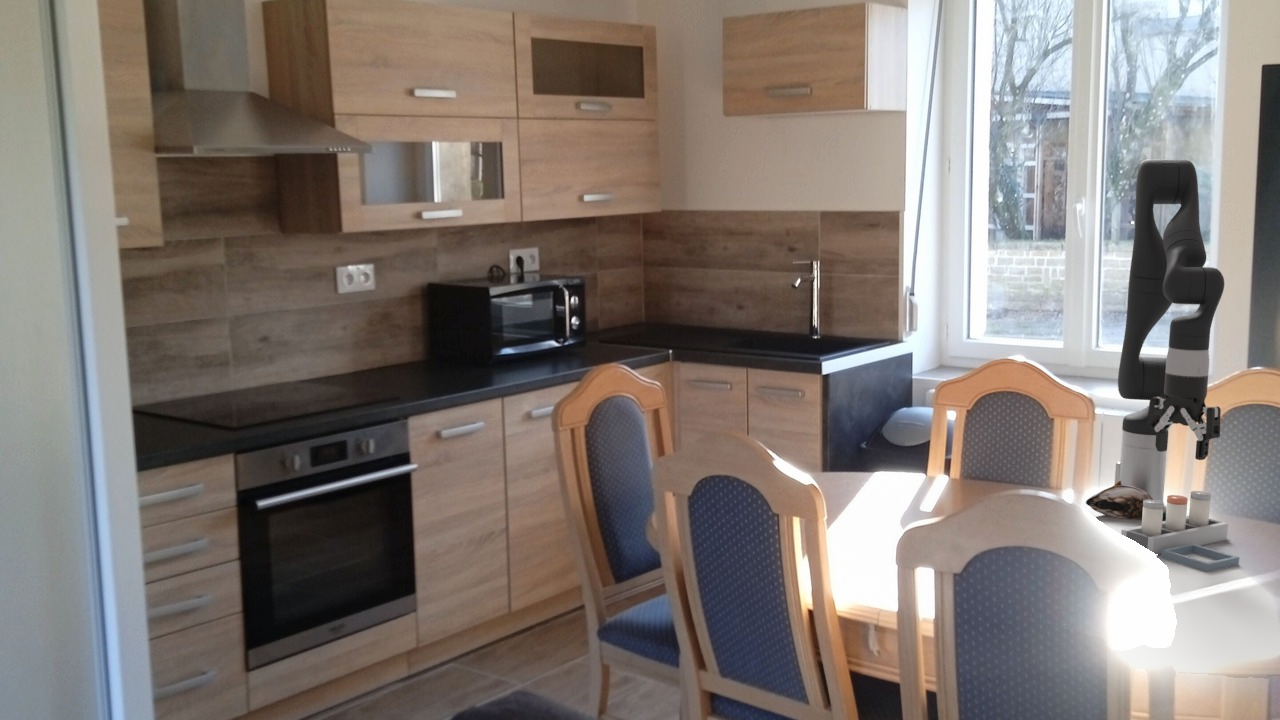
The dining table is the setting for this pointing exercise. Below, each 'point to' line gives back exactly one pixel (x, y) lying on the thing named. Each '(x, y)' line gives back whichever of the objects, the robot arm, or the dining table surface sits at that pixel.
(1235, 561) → the tray
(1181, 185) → the robot arm
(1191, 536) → the grey compartment rack
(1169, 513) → the cylinder
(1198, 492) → the white domed part
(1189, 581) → the dining table surface
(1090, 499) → the decorative duck model
